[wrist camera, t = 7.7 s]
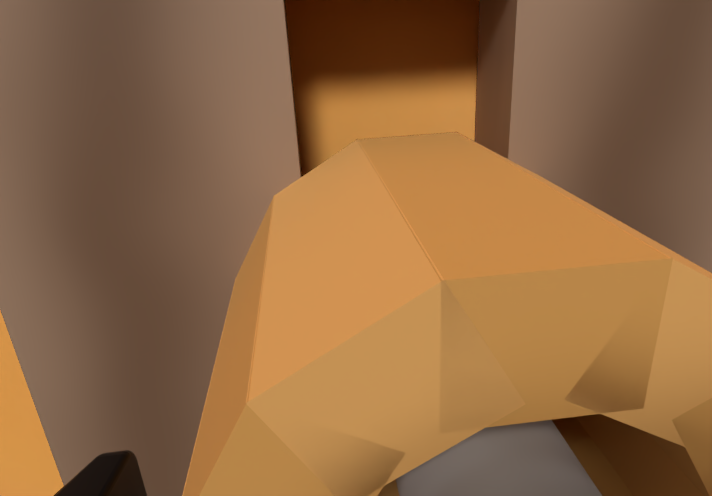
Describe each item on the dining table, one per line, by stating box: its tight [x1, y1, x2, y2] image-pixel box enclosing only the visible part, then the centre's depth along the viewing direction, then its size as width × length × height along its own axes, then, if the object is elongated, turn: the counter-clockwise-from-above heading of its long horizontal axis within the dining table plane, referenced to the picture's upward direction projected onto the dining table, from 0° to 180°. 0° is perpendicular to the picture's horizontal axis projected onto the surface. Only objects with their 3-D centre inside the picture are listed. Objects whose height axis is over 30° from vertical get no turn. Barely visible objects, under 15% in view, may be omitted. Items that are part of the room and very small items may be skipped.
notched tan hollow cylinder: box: [182, 132, 712, 496], centre depth 8 cm, size 7×7×6 cm
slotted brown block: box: [0, 0, 712, 496], centre depth 9 cm, size 16×14×8 cm
